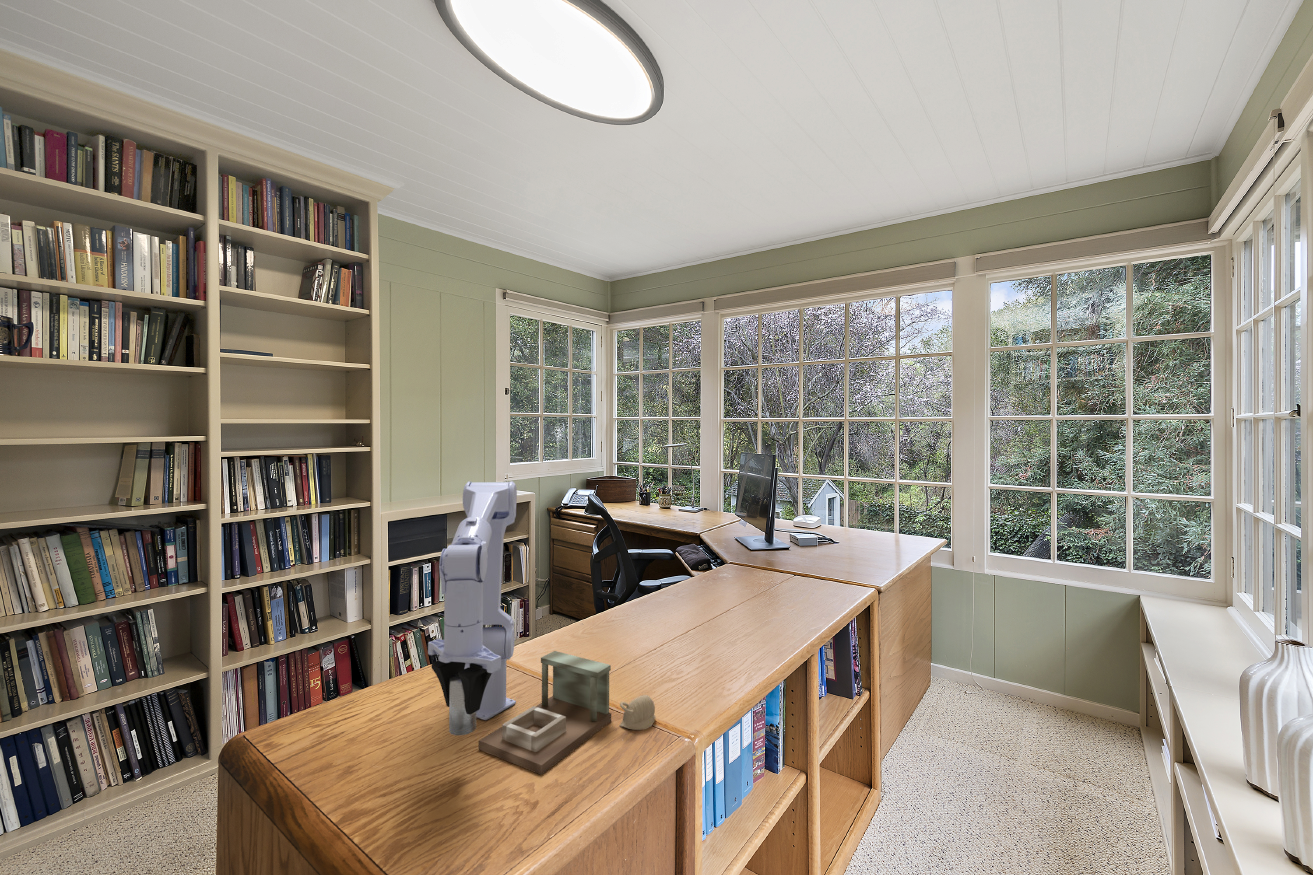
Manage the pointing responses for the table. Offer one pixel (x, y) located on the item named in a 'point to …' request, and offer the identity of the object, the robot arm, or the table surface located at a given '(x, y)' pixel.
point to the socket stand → (556, 715)
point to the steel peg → (459, 709)
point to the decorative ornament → (638, 713)
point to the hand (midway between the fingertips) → (463, 707)
